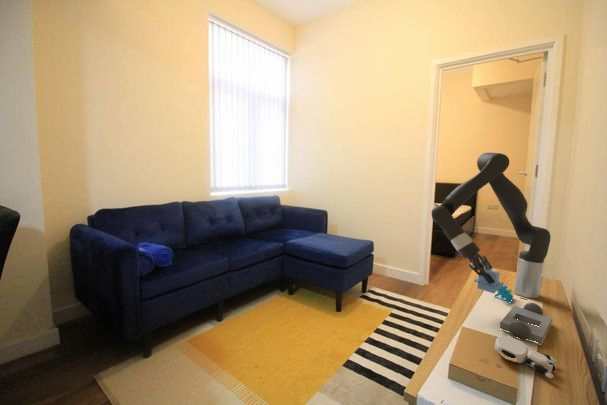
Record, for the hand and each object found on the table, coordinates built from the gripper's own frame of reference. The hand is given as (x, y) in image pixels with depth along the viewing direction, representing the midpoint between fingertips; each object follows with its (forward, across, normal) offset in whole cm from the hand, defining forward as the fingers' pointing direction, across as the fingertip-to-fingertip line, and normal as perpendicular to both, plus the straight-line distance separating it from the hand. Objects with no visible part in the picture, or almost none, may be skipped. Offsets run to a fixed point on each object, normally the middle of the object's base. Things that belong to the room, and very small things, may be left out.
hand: (493, 281), depth 114 cm
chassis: (+18, 0, +1) cm, 18 cm away
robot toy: (+21, -25, -1) cm, 33 cm away
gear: (+10, +20, +10) cm, 25 cm away
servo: (+2, 0, +4) cm, 5 cm away
